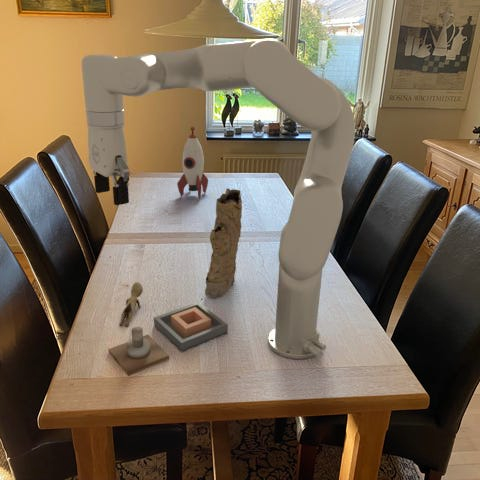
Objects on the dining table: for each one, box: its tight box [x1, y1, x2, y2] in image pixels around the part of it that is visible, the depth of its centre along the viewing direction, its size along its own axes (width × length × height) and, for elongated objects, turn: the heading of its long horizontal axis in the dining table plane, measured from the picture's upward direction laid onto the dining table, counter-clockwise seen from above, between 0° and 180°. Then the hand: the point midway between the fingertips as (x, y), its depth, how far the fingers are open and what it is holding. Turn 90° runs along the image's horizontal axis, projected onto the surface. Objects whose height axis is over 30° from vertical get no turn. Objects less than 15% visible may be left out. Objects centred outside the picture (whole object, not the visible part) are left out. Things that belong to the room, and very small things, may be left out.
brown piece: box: [108, 326, 170, 377], centre depth 110 cm, size 10×10×7 cm
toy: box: [177, 126, 209, 200], centre depth 211 cm, size 11×11×30 cm
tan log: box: [204, 188, 243, 299], centre depth 132 cm, size 14×10×30 cm
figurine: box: [119, 281, 144, 327], centre depth 128 cm, size 4×4×15 cm
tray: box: [153, 301, 229, 353], centre depth 121 cm, size 13×13×3 cm
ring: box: [171, 307, 211, 338], centre depth 120 cm, size 7×7×3 cm
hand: (111, 197), depth 108 cm, fingers open, 9 cm apart
